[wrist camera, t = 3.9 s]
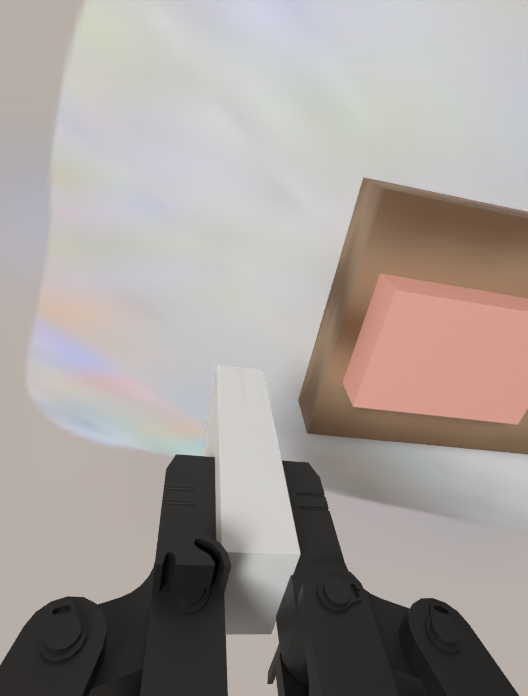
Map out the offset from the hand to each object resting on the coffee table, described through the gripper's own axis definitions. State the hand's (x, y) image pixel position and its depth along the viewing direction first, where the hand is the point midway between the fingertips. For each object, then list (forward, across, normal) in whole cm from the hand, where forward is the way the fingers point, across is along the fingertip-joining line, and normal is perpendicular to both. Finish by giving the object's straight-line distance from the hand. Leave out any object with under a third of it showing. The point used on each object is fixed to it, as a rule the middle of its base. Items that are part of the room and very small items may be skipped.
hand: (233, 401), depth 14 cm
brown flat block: (+9, +14, 0) cm, 17 cm away
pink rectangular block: (+6, +11, 0) cm, 13 cm away
